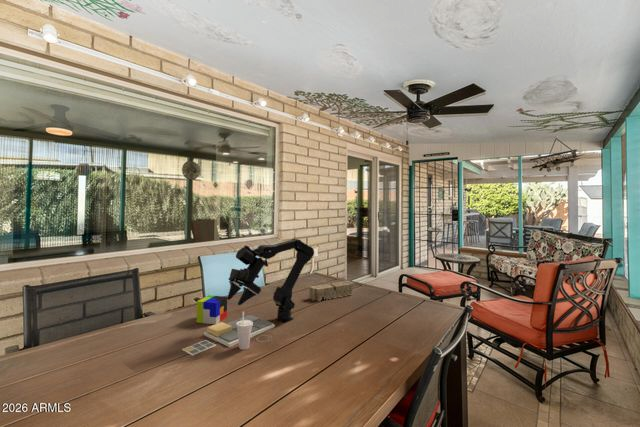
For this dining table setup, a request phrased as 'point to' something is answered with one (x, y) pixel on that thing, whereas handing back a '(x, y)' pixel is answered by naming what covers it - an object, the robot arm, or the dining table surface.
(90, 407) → the dining table surface
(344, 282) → the tan stone block
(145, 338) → the dining table surface
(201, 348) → the pattern card
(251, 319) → the button board
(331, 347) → the dining table surface
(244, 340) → the smoothie
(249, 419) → the dining table surface
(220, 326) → the amber button
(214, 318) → the puzzle toy
